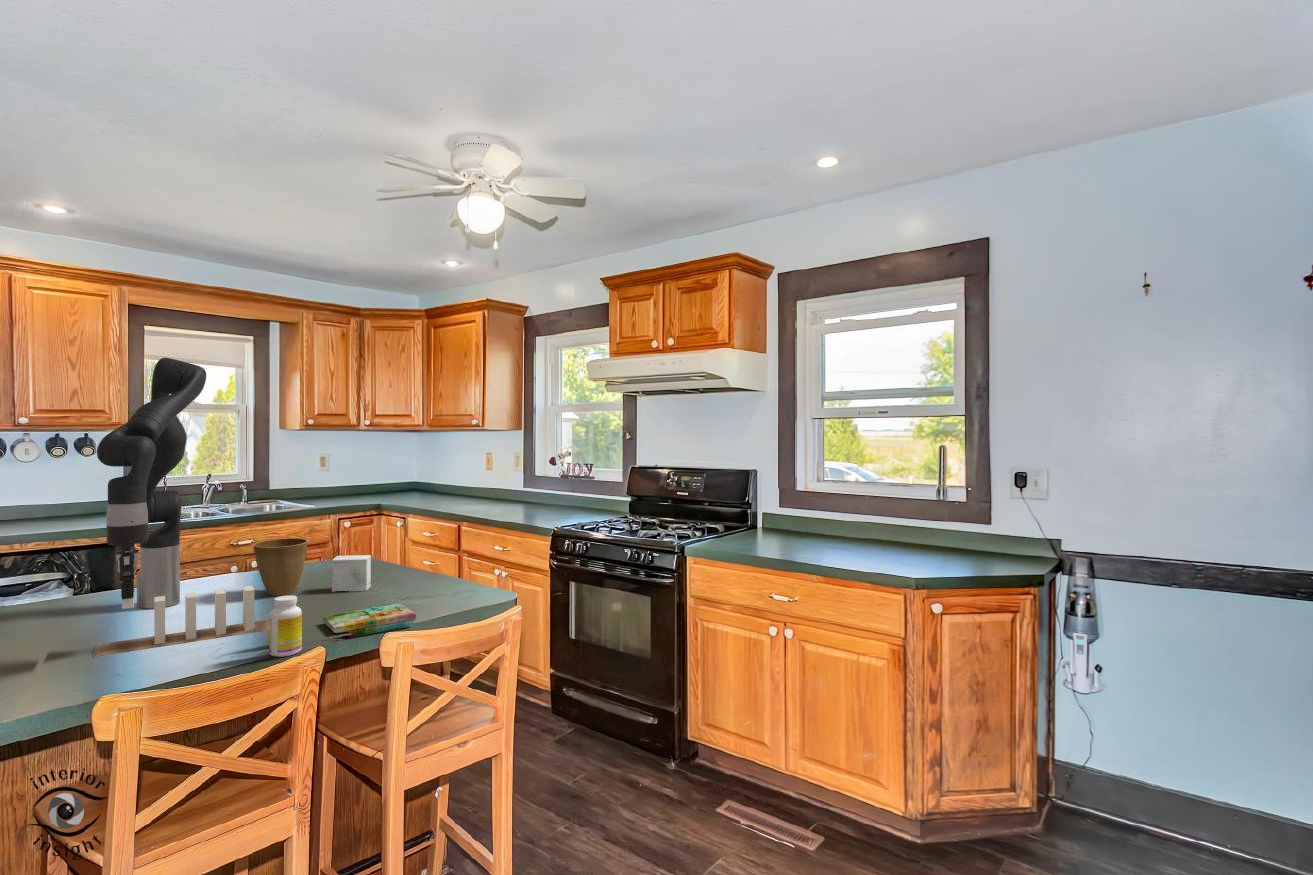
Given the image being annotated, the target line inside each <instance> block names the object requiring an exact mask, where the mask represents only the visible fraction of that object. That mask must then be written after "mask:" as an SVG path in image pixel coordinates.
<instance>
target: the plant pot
mask: <svg viewBox="0 0 1313 875" xmlns="http://www.w3.org/2000/svg"><path fill="white" fill-rule="evenodd" d="M308 544H309V540H308V539H306V538H301V537H299V538H298V537H287V538H275V539H267V540H263V541H258V542H255V543H253V544H252V547H253V552H254V557H255V562H256V567H257V569H258V573H259V576H260V578H261V580H262V583H263V587H264V588H265V591H266V594H267V595H269V596H271V597H281V596H289V595H292V594H294V593H295V592H296V590H297V588H298V585H299V583H300V579H301V577H302V574H303V570H304V567H305V562H306V561H305V560H306V556H307V551H308Z"/></svg>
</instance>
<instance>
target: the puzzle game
mask: <svg viewBox="0 0 1313 875" xmlns="http://www.w3.org/2000/svg"><path fill="white" fill-rule="evenodd" d="M416 619H417V614H416V613H415V612H414V611H412V610H411V609H409V608H408V607H406V606H404V605H403V604H401V603H395V604H389V605H383V606H372V607H371V606H370V608H363V609H359V610H358V609H357V610H351V611H347V612H341V613H334V614H328V615H324V616H323V615H322V620H321V621H322V622H323V623H324V624H325V625H326V626H327V627H328V628H329V629H330V630H331V632H332V633H334V634H335V633H336V634H341V633H349V634H347V637H348V638H355V637H359V636H366V635H371V634H375V633H383V632H388V631H392V630H398V629H399V630H400V629H405V628H410V627H411V625H412V624H413V623H414V621H416Z"/></svg>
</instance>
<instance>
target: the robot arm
mask: <svg viewBox="0 0 1313 875" xmlns="http://www.w3.org/2000/svg"><path fill="white" fill-rule="evenodd" d="M151 377H152V378H151V388H150V390H151V391H150V401H149V402H146V403H144V404H143V405H141V406H140V407H139V408H138V409H137V410H136V411H135V412H134V413H133V414H132V416H131V417H130V418H129V420H128V421H127V422H125V423H124V424H122V425H120V426H118V427H117V428H115V429H114V430H112V431H111V432H108V433H107V434H106V435H105V436H104V437H103V438H102V439H101V440H100V441H99V443H98V445H97V449H96V456H97V459H98V461H99V462H100V463H101V464H103V465H105V466H108V467H118V468H119V467H130V470H129V472H128V474H127V475H124V476H119V477H114V478H111V479H109V481H108V483H107V509H106V514H105V516H106V521H105V522H106V525H105V526H106V544H107V545H108V546H119V547H120V550H116V553H115V554H116V557H115V558H116V561H117V572H118V573H119V579H118V580H119V582H120V587H121V588H120V591H121V592H120V596H121V600H122V599H130V598H133V597H134V596H135V580H136V607H140V608H143V609H154V599H155V597H161V596H165V608H168V607H171V606H172V607H173V606H175V605H177V604H180V603H181V600H180V599H181V589H180V588H181V581H180V580H181V565H180V564H181V562H180V560H181V553H180V551H181V547H180V546H181V545H180V544H181V543H180V540H181V537H180V536H181V520H182V518H181V517H182V498H181V494H180V492H179V491H178V490H176V489H162V490H156V489H157V486H158V484H159V483H160V482H161V481H162V480H163V479H164V478H165V477H166V476H167V475H168V474H169V473H171V472H172V470H174V469H175V468H176V467H177V465H179V464H180V462H181V461H182V459H183V458H184V455H185V450H186V445H187V440H188V438H187V437H188V435H187V433H186V430H185V427H184V426H183V423H182V421H181V420H180V419H179V417H178V415H179V414H180V413H181V412H182V411H183V410H184V409H186V408H187V407H188V406H189V405H190V404H191V403H193V401H195V400H196V399H197V398H198V397H199V396H200V395H201V393H202V391H203V389H204V388H205V385H206V382H207V380H206V379H207V372H206V369H205V367H202V366H200V365H197V364H194V363H190V362H187V361H183V360H178V359H174V358H170V357H162V358H160V359H159V360H158V361H157V362H156V364H155V366H154V369H153V371H152V376H151ZM155 523H156V524H157V523H164V524H163V525H162V526H161V527H160V528H158V529H157V530H155V531H153V532H150V533H149V524H155ZM137 544H138V545H139V549H138V548H136V546H135V545H137ZM138 559H139V561H140V562H139V563H140V564H139V568H140V569H139V572H138V573H137V572H136V571H137V570H138ZM124 572H131V575H128V576H123V573H124ZM131 581H132V582H131ZM134 598H135V597H134Z"/></svg>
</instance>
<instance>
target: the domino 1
mask: <svg viewBox="0 0 1313 875" xmlns="http://www.w3.org/2000/svg"><path fill="white" fill-rule="evenodd" d="M128 575H131V572H124V573H123V576H128ZM131 582H132V581H131ZM134 605H135V597H133V598H130V599H122V598H121V609H122V610H126V609H128V610H129V609H134V607H135V606H134Z"/></svg>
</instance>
